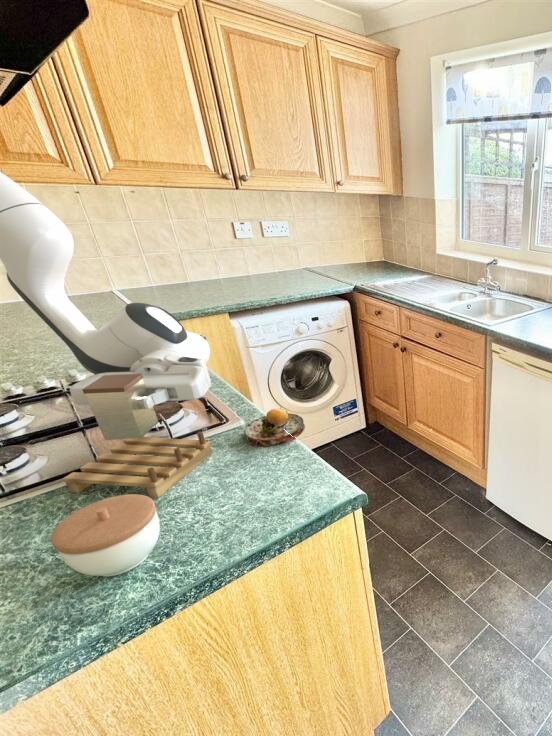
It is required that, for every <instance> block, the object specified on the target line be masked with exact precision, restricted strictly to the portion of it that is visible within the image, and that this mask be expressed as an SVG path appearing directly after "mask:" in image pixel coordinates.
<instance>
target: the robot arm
mask: <svg viewBox="0 0 552 736" xmlns="http://www.w3.org/2000/svg"><path fill="white" fill-rule="evenodd" d="M74 250H75V243H74V237H73V235H72V233H71V231H70V230H69V228H68V227H67V226H66V224H65V223H64V222H63V221H62V220H61V219H60V218H59V216H57V215H56V214H54V212H52V210H50V209H49V208H48V207H47V206H46V205H44V204H43V203H42V202H41V201H40V200H39V199H37V197H35V196H34V195H33V194H31V193H30V192H29V191H28V190H26V189H25V188H24V187H23V186H21V185H20V184H19V183H17V182H16V181H14V180H13V179H12V178H10V177H9V176H7V175H6V174H5V173H3V172H1V171H0V261H1V263H2V265H3V267H4V268H5V271H6V278H7V281H8V283H9V285H10V286H11V287H12V289H13V290H14V291H15V292H16V293H17V294H18V295H19V297H20V298H21V299H22V300H23V301H24V302H25V303H26V304H27V305H28V307H30V308H31V309H32V311H33V312H34V313H36V314H37V316H38V317H39V318H40V319H41V320H42V321H43V322H44V323H45V324H46V325H47V326H48V327H49V328H50V329H51V330H52V331H53V332H54V333H55V334H56V335H57V336H58V337H59V338H60V339H61V340H62V341H63V342H64V343H65V344H66V346H67V347H68V348H69V349H70V351H71V352H72V353H73V355H74V356H75V358H76V360H77V361H78V362H79V363H80V365H81V366H82V367H83V368H84V369H85V370H86V371H88V372H89V373H91V374H93V375H90V376H88V377H86V378H84V379H81V380H80V381H77V382H75V383H74V384H72V385H71V386H70V387H69V392H70V395H71V398H72V400H73V401H74V403H75V404H76V405H78V406H89V407H90V410H91V411H92V409H91V406H90V404H89V402H88V399H87V397H86V395H85V394H84V393H83V390H82V389H84V388H85V387H87V386H88V385H90V384H91V383H93V382H94V381H96V380H98V379H99V378H101V377H102V376H104V375H125V374H143V377H144V378H143V380H144V383H145V385H146V388H147V391H148V394H149V396H147V397H141V398H140V399H139V400H138V402H137V403H138V405H139V408H140V409H150V408H151V407H153V408H154V406H157V405H159V404H163V403H165V402H175V401H176V402H177V401H195V400H198V399H202V398H203V397H204V396H205V395H206V394H207V393H208V391H209V389H210V388H211V387H212V382H211V377H210V373H209V369H208V367H207V363H208V361H209V359H210V357H211V348H210V347H211V346H210V344H209V343H208V341H207V340H206V339H205V338H204V336H201V335H200V334H198V333H195V332H192V331H188V330H186V329H185V327H184V326H183V325H182V323H181V322H180V321H179V320H178V319H177V318H176V317H175V316H174V315H173V314H172V313H170V312H169V311H167V310H166V309H164V308H162V307H160V306H158V305H153V304H150V303H145V302H130V303H128V304H126V305H125V306H124V307H122V308H121V309H119V311H118V312H116V313H115V314H113V316H111V317H110V318H109V319H108V320H107V321H106V322H105V323H104V324H102V325H100V327H99V328H96V327H95V326H94V325H93V324H92V323H91V322H90V320H89V319H88V318H87V317H86V316H85V315H84V314H83V312H81V311H80V310H79V308H78V307H77V306H76V305H74V303H73V302H72V301H71V299H69V297H68V295H67V293H66V289H65V282H66V281H65V280H66V275H67V271H68V268H69V265H70V264H71V262H72V259H73V256H74V252H75V251H74Z"/></svg>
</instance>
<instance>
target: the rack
mask: <svg viewBox="0 0 552 736" xmlns="http://www.w3.org/2000/svg"><path fill="white" fill-rule="evenodd" d="M196 435H197V438H198V439H183V438H171V437H170V438H168V437H152V436H144V437H143V438H132V439H123V442H124V444H122V443H118V444H116V445H114V446H113V447H111V448H110V449H109V450H110V452H103V453H102V454H100V455H97V457H95V460H96V462H92V461H89V462H87V463H84V465H82V466H81V467H79V469H80V471H81V472H78V471H77V472H76V471H72V472H71V473H69V474H67V475H66V476H64V477H63V481H64V482H65V485H66V486H67V489H68V490H69V493H75V494H80V493H82V492H83V491H85V490H86V489H87V488H89V487H90V486H92V485H93V484H94V485H109V486H123V487H124V486H125V487H140V488H146V489H145V490H146V491H147V493H148V497H149V498H151V499H152V498H153V499H154V498H155V499H159V498H161V497H162V496H163V495H164V494H165V493H167V492H168V491H169V490H170V489H171V488H173V486H175V485H176V484H177V483H179V482H180V481H181V480H182V479H184V477H186V476H187V475H188V474H189V473H190V472H192V471H193V470H195V468H196V467H198V466H199V465H200V464H201V463H203V462H204V461H205V460H206V459H207V458H208V457H210V456H211V455H212V454H213V450H212V446H211V441H210V440H206V439H205V437H204V436H205V435H204V432H203V431H198V432H196ZM134 454H136V455H134ZM121 463H123V464H121Z"/></svg>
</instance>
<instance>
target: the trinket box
mask: <svg viewBox="0 0 552 736" xmlns="http://www.w3.org/2000/svg"><path fill="white" fill-rule="evenodd" d="M160 525H161V524H160V519H159V514H158V512H157V507H156V504H155V501H154V500H153V499H152V498H151V497H149V496H148V495H145V494H137V493H136V494H135V493H131V494H130V493H129V494H128V493H127V494H121V495H120V494H119V495H115V496H111V497H107V498H104V499H101V500H98V501H95V502H92V503H90V504H88V505H85V506H83V507H81V508H80V509H77V510H75V511H74V512H73V513H71V514H69V515H68V516H67V517H65V518H64V519H62V520H61V521H60V522H59V523H58V524H57V525H56V526H55V528H54V529H53V531H52V533H51V534H50V543H51V545H52V547H53V548H54V550H56V551H57V553H58V554H59V556H60V558H61V559H62V561H63V562H65V564H66V565H67V566H68V567H69V568H71V569H72V570H74V571H76V572H78V573H79V574H83V575H85V576H86V575H87V576H95V577H107V578H108V577H115V576H119V575H122V574H125V573H127V572H130V571H131V570H133V569H135V568H137V567H138V566H139V565H141V564H142V563H143V562H144V561H145V560H146V559H147V558H148V557H149V555H150V553H151V552H152V551H153V549H154V548H155V546H156V544H157V542H158V540H159V538H160V532H161V530H160V529H161V528H160V527H161V526H160Z"/></svg>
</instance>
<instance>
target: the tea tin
mask: <svg viewBox="0 0 552 736" xmlns="http://www.w3.org/2000/svg"><path fill="white" fill-rule="evenodd" d="M143 378H144V377H143V374H125V375H104V376H102V377H101V378H99V379H98V380H96V381H94V382H93V383H91V384H90V385H88V386H87V387H85V388H84V389H82V390H83V393H84V394H85V395H86V397H87V399H88V402H89V404H90V405H89V407H90V406H91V408H90V410H91V409H92V410H91V411H92V413H93V415H94V418H95V420H96V423H97V425H98V427H99V430H100V432H101V434H102V437H103V439H104V441H116V440H117V441H118V440H126V439H132V438H143V437H146V436H147V434H148V433H149V432H150V431H151V430H152V429H153V428H154V427H155V426H156V425H157V424H158V423H159V419H158V417H157V413H156V412H155V408H154V406H153V407H151V408H150V409H140V408H139V405H138V403H137V402H138V400H139V399H140V398H141V397H147V396H149V394H148V391H147V388H146V385H145V383H144V380H143Z"/></svg>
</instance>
